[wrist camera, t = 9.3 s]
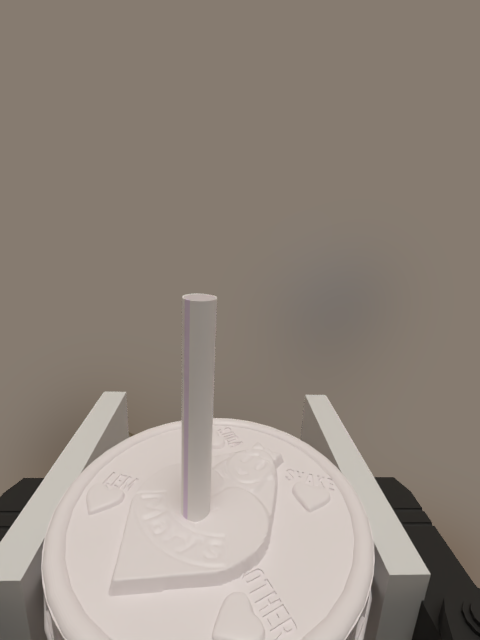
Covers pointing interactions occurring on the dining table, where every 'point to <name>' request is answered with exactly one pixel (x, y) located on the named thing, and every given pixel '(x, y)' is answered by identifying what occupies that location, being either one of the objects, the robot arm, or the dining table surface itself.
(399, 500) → the robot arm
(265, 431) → the smoothie
